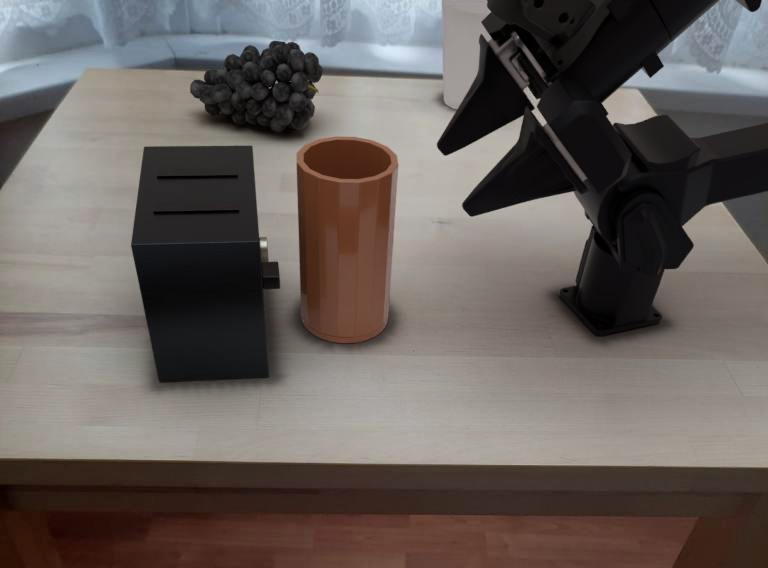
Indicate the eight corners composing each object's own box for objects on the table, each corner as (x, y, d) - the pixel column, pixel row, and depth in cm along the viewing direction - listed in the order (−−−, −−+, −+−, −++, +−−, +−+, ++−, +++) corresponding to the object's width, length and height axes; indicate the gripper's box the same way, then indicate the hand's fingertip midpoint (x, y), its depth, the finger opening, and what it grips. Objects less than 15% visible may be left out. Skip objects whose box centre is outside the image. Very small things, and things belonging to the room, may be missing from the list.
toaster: (275, 274, 68) (268, 143, 59) (285, 376, 59) (278, 238, 50) (166, 277, 66) (143, 143, 58) (158, 382, 57) (130, 242, 49)
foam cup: (426, 85, 97) (436, -39, 88) (498, 86, 99) (517, -36, 89) (438, 117, 91) (451, -12, 82) (515, 118, 92) (537, -10, 83)
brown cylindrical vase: (364, 286, 67) (370, 130, 57) (402, 331, 63) (415, 172, 53) (288, 303, 65) (281, 144, 55) (322, 352, 61) (321, 189, 51)
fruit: (172, 28, 80) (314, 43, 78) (204, 32, 87) (334, 46, 86) (175, 122, 85) (310, 138, 83) (205, 119, 92) (330, 134, 90)
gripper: (534, -145, 50) (359, 44, 57) (636, -69, 38) (398, 160, 45) (617, -2, 57) (452, 151, 64) (726, 101, 45) (508, 277, 52)
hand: (452, 179), depth 56 cm, fingers open, 9 cm apart
